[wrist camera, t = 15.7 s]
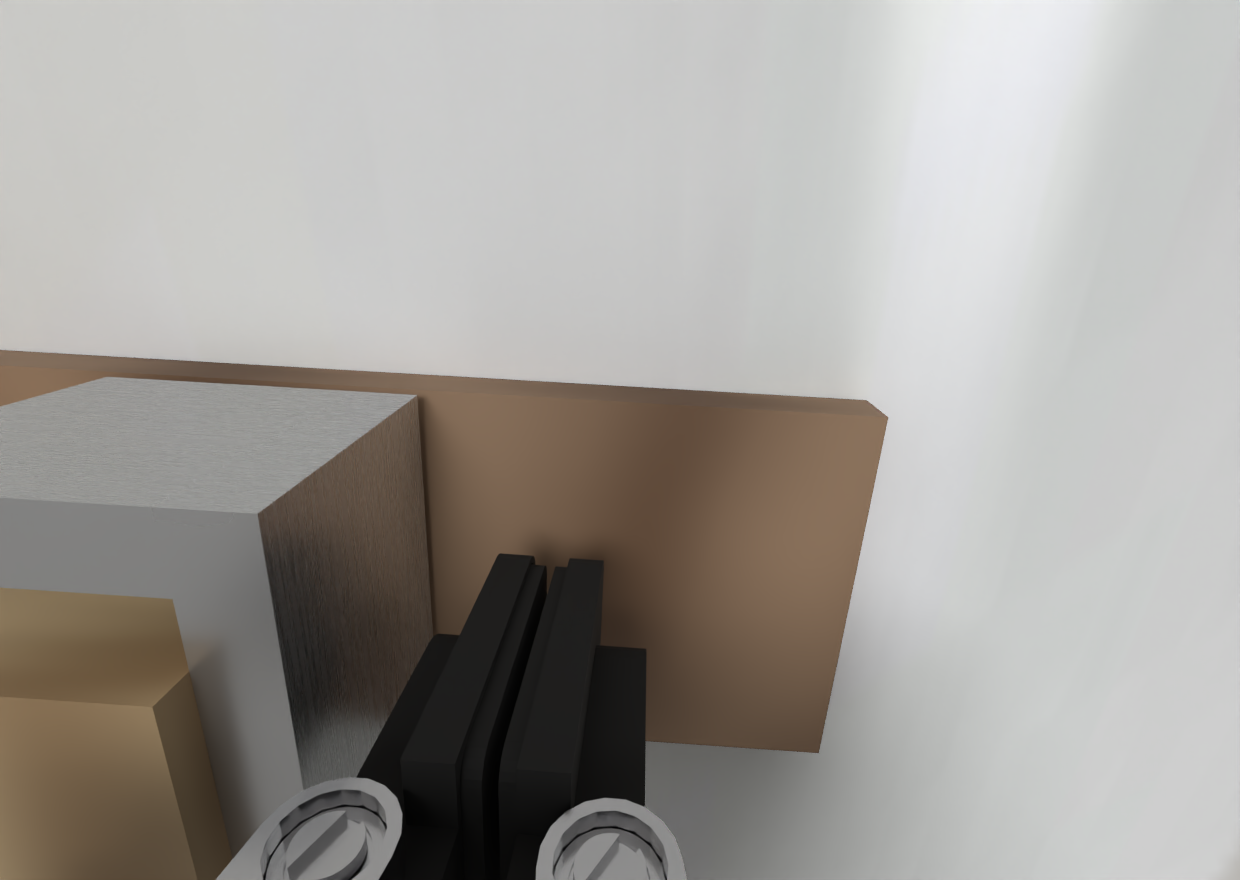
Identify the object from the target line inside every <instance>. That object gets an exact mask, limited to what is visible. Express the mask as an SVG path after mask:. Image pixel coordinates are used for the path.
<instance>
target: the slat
mask: <svg viewBox="0 0 1240 880" xmlns="http://www.w3.org/2000/svg"><path fill="white" fill-rule="evenodd" d="M231 860H232V854H231V850H230V846H229V841H228V837H227V833H226V828H225V824H224V820H223V815H222V811H221V807H220V802H219V798H218V794H217V789H216V785H215V781H214V776H213V772H212V768H211V763H210V759H209V755H208V750H207V746H206V742H205V737H204V733H203V729H202V724H201V720H200V716H199V711H198V707H197V703H196V698H195V694H194V690H193V685H192V681H191V677H190V672H189V668H188V664H187V660H186V655H185V651H184V647H183V642H182V638H181V634H180V629H179V625H178V621H177V616H176V612H175V608H174V603H173V599H165V598H150V597H135V596H120V595H105V594H89V593H74V592H59V591H44V590H29V589H13V588H0V880H216V879H217V877H218V876H219V875H220V874H221V873H222V871H223V870H224V869H225V868H226V867H227V865H228V864H229V863H230V862H231Z"/></svg>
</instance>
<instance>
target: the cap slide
mask: <svg viewBox="0 0 1240 880" xmlns="http://www.w3.org/2000/svg"><path fill="white" fill-rule="evenodd" d="M0 588H13V589H29V590H44V591H59V592H74V593H89V594H105V595H120V596H135V597H150V598H165V599H173V603H174V608H175V612H176V616H177V621H178V625H179V629H180V634H181V638H182V642H183V647H184V651H185V655H186V660H187V664H188V668H189V672H190V677H191V681H192V685H193V690H194V694H195V698H196V703H197V707H198V711H199V716H200V720H201V724H202V729H203V733H204V737H205V742H206V746H207V750H208V755H209V759H210V763H211V768H212V772H213V776H214V781H215V785H216V789H217V794H218V798H219V802H220V807H221V811H222V815H223V820H224V824H225V828H226V833H227V837H228V841H229V846H230V850H231V854H232V859H233V858H234V857H235V856H236V854H237V853H238V852H239V851H240V850H241V848H242V847H243V846H244V845H245V844H246V842H247V841H248V840H249V839H250V838H251V836H252V835H253V834H254V833H255V831H256V830H257V829H258V828H259V827H260V825H261V824H262V823H263V822H264V821H265V820H266V819H267V818H268V817H269V816H270V815H271V814H272V813H273V812H274V811H275V810H276V809H277V808H278V807H279V806H280V805H282V804H283V803H285V802H286V801H288V800H289V799H291V798H292V797H294V796H295V795H297V794H298V793H300V792H301V791H303V790H305V789H308V788H310V787H313V786H315V785H318V784H320V783H323V782H325V781H329V780H335V779H340V778H346V777H353V778H356V776H357V775H358V773H359V771H360V769H361V767H362V765H363V764H364V762H365V760H366V758H367V756H368V754H369V752H370V751H371V749H372V747H373V745H374V743H375V741H376V740H377V738H378V736H379V734H380V732H381V730H382V728H383V727H384V725H385V723H386V721H387V719H388V717H389V716H390V714H391V712H392V710H393V708H394V706H395V704H396V703H397V701H398V699H399V697H400V695H401V693H402V692H403V690H404V688H405V686H406V684H407V682H408V680H409V679H410V677H411V675H412V673H413V671H414V669H415V668H416V666H417V664H418V662H419V660H420V658H421V656H422V655H423V653H424V651H425V649H426V647H427V645H428V644H429V642H430V640H431V639H432V638H433V629H432V613H431V597H430V582H429V566H428V551H427V535H426V519H425V504H424V488H423V472H422V457H421V441H420V426H419V410H418V395H409V394H392V393H375V392H358V391H341V390H324V389H307V388H290V387H273V386H256V385H239V384H222V383H205V382H188V381H171V380H154V379H137V378H120V377H104V378H101V379H97V380H94V381H90V382H86V383H83V384H79V385H76V386H72V387H69V388H65V389H61V390H58V391H54V392H51V393H47V394H43V395H40V396H36V397H33V398H29V399H26V400H22V401H18V402H15V403H11V404H8V405H4V406H1V407H0Z"/></svg>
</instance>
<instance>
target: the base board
mask: <svg viewBox="0 0 1240 880" xmlns="http://www.w3.org/2000/svg"><path fill="white" fill-rule="evenodd" d="M104 377H120V378H137V379H154V380H171V381H188V382H205V383H222V384H239V385H256V386H273V387H290V388H307V389H324V390H341V391H358V392H375V393H392V394H409V395H418V410H419V426H420V441H421V457H422V472H423V488H424V504H425V519H426V535H427V551H428V566H429V582H430V597H431V613H432V629H433V636H434V635H436V634H452V635H460V633H461V631H462V629H463V627H464V625H465V623H466V621H467V618H468V616H469V614H470V612H471V610H472V608H473V606H474V604H475V602H476V600H477V597H478V595H479V593H480V591H481V589H482V587H483V585H484V583H485V581H486V578H487V576H488V574H489V572H490V570H491V568H492V566H493V564H494V562H495V560H496V557H497V556H498V554H500V553H502V554H517V555H531V556H534V557H535V565H544V566H546V567H547V594H548V590H549V587H550V583H551V580H552V576H553V573H554V569H555V567H556V566H559V567H567V566H568V562H569V559H570V558H575V559H590V560H604V576H603V599H602V621H601V643H600V645H603V646H617V647H630V648H644V649H646V651H647V662H646V736H645V741H653V742H667V743H682V744H696V745H711V746H725V747H739V748H754V749H768V750H783V751H797V752H812V753H819V749H820V744H821V739H822V734H823V729H824V724H825V720H826V715H827V710H828V705H829V700H830V695H831V691H832V686H833V681H834V676H835V671H836V667H837V662H838V657H839V652H840V647H841V642H842V638H843V633H844V628H845V623H846V618H847V613H848V609H849V604H850V599H851V594H852V589H853V585H854V580H855V575H856V570H857V565H858V560H859V556H860V551H861V546H862V541H863V536H864V531H865V527H866V522H867V517H868V512H869V507H870V502H871V498H872V493H873V488H874V483H875V478H876V474H877V469H878V464H879V459H880V454H881V449H882V445H883V440H884V435H885V430H886V425H887V420H888V417H887V416H886V415H885V414H883V413H882V412H881V411H879V410H878V409H877V408H876V407H874V406H873V405H872V404H870V403H869V402H868V401H867V400H850V399H833V398H816V397H799V396H781V395H764V394H747V393H730V392H712V391H695V390H678V389H661V388H643V387H626V386H609V385H592V384H575V383H557V382H540V381H523V380H506V379H488V378H471V377H454V376H437V375H420V374H402V373H385V372H368V371H351V370H333V369H316V368H299V367H282V366H264V365H247V364H230V363H213V362H196V361H178V360H161V359H144V358H127V357H109V356H92V355H75V354H58V353H40V352H23V351H6V350H0V407H1V406H4V405H8V404H11V403H15V402H18V401H22V400H26V399H29V398H33V397H36V396H40V395H43V394H47V393H51V392H54V391H58V390H61V389H65V388H69V387H72V386H76V385H79V384H83V383H86V382H90V381H94V380H97V379H101V378H104Z"/></svg>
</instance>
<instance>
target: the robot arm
mask: <svg viewBox="0 0 1240 880" xmlns="http://www.w3.org/2000/svg"><path fill="white" fill-rule="evenodd" d="M603 576H604V560H590V559H575V558H570V559H569V562H568V566H567V567H559V566H556V567H555V569H554V573H553V576H552V580H551V583H550V587H549V590H548V594H547V567H546V566H544V565H535V557H534V556H531V555H517V554H502V553H500V554H498V556H497V557H496V560H495V562H494V564H493V566H492V568H491V570H490V572H489V574H488V576H487V578H486V581H485V583H484V585H483V587H482V589H481V591H480V593H479V595H478V597H477V600H476V602H475V604H474V606H473V608H472V610H471V612H470V614H469V616H468V618H467V621H466V623H465V625H464V627H463V629H462V631H461V633H460V635H452V634H436V635H434V636H433V638H432V639H431V640H430V642H429V644H428V645H427V647H426V649H425V651H424V653H423V655H422V656H421V658H420V660H419V662H418V664H417V666H416V668H415V669H414V671H413V673H412V675H411V677H410V679H409V680H408V682H407V684H406V686H405V688H404V690H403V692H402V693H401V695H400V697H399V699H398V701H397V703H396V704H395V706H394V708H393V710H392V712H391V714H390V716H389V717H388V719H387V721H386V723H385V725H384V727H383V728H382V730H381V732H380V734H379V736H378V738H377V740H376V741H375V743H374V745H373V747H372V749H371V751H370V752H369V754H368V756H367V758H366V760H365V762H364V764H363V765H362V767H361V769H360V771H359V773H358V775H357V776H356V778H353V777H346V778H340V779H335V780H329V781H325V782H323V783H320V784H318V785H315V786H313V787H310V788H308V789H305V790H303V791H301V792H300V793H298V794H297V795H295V796H294V797H292V798H291V799H289V800H288V801H286V802H285V803H283V804H282V805H280V806H279V807H278V808H277V809H276V810H275V811H274V812H273V813H272V814H271V815H270V816H269V817H268V818H267V819H266V820H265V821H264V822H263V823H262V824H261V825H260V827H259V828H258V829H257V830H256V831H255V833H254V834H253V835H252V836H251V838H250V839H249V840H248V841H247V842H246V844H245V845H244V846H243V847H242V848H241V850H240V851H239V852H238V853H237V854H236V856H235V857H234V858H233V859H232V860H231V862H230V863H229V864H228V865H227V867H226V868H225V869H224V870H223V871H222V873H221V874H220V875H219V876H218V877H217V879H216V880H687V877H686V872H685V867H684V862H683V858H682V855H681V852H680V849H679V847H678V844H677V841H676V838H675V836H674V835H673V834H672V832H671V831H670V830H669V828H668V827H667V826H666V824H665V823H664V822H663V820H662V819H660V818H659V817H658V816H656V815H655V814H654V813H652V812H651V811H650V810H648V809H647V808H646V807H645V736H646V662H647V651H646V649H644V648H630V647H617V646H603V645H600V643H601V621H602V599H603Z"/></svg>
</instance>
